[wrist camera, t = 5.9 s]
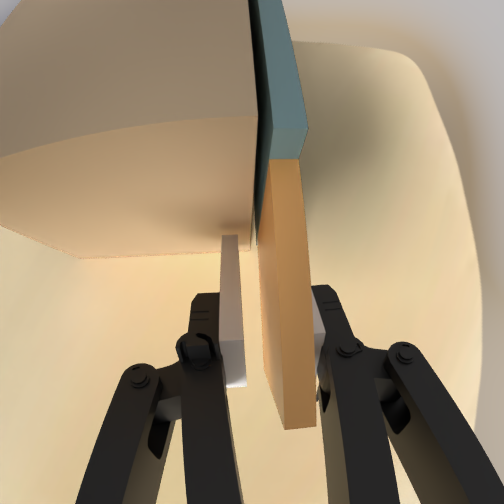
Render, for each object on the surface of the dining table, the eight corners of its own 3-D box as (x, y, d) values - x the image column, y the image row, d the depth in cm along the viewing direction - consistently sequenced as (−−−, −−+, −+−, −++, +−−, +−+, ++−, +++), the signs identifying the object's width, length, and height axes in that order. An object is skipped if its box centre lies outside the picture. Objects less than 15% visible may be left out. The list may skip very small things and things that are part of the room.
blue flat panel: (262, 364, 17) (293, 454, 5) (246, 71, 21) (248, -62, 9) (276, 363, 17) (331, 449, 5) (256, 71, 21) (263, -62, 9)
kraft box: (80, 258, 19) (-75, 188, 6) (104, 100, 22) (38, -20, 8) (249, 250, 20) (258, 116, 6) (241, 83, 23) (240, -69, 9)
